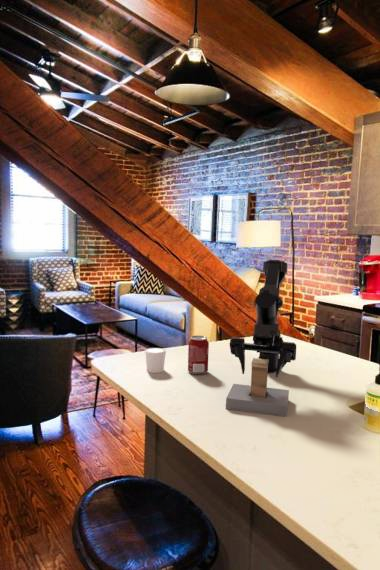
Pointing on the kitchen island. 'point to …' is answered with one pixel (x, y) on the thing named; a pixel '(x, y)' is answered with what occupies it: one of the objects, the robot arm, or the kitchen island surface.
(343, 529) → the kitchen island surface
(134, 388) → the kitchen island surface
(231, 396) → the socket board
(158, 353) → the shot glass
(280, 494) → the kitchen island surface
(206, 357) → the soda can
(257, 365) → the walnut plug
